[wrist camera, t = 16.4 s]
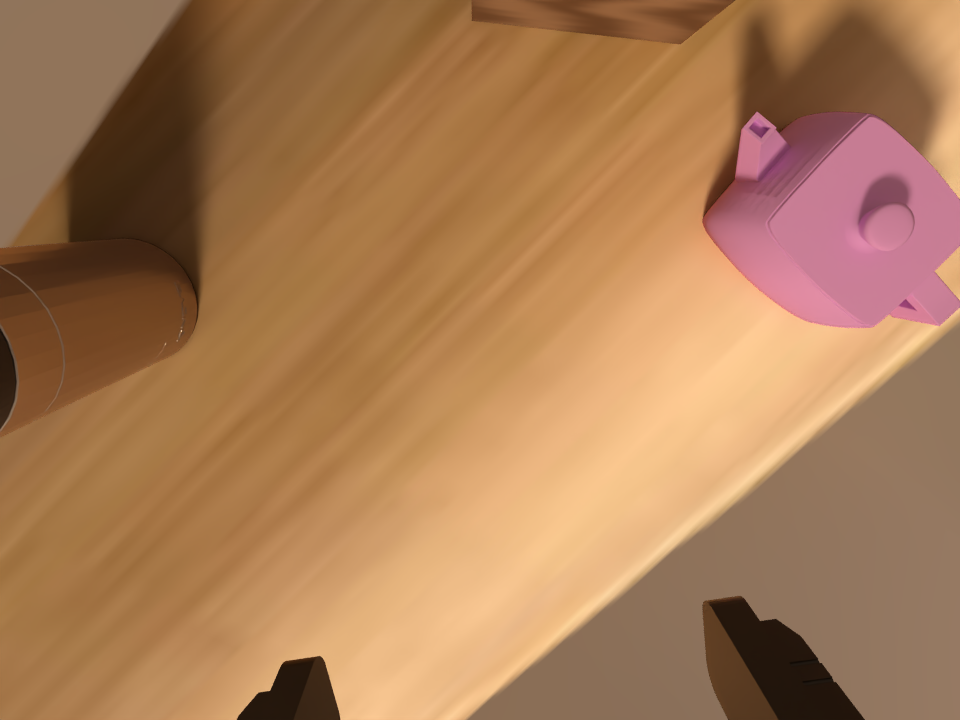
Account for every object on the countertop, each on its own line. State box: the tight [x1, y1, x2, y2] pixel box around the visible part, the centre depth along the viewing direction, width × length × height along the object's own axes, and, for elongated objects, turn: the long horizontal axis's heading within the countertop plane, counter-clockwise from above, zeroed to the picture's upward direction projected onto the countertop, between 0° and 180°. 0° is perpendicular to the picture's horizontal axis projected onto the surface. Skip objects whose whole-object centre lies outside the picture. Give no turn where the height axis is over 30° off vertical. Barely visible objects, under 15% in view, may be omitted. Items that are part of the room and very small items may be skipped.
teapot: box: [703, 112, 960, 328], centre depth 36 cm, size 18×10×10 cm, turn 50°
